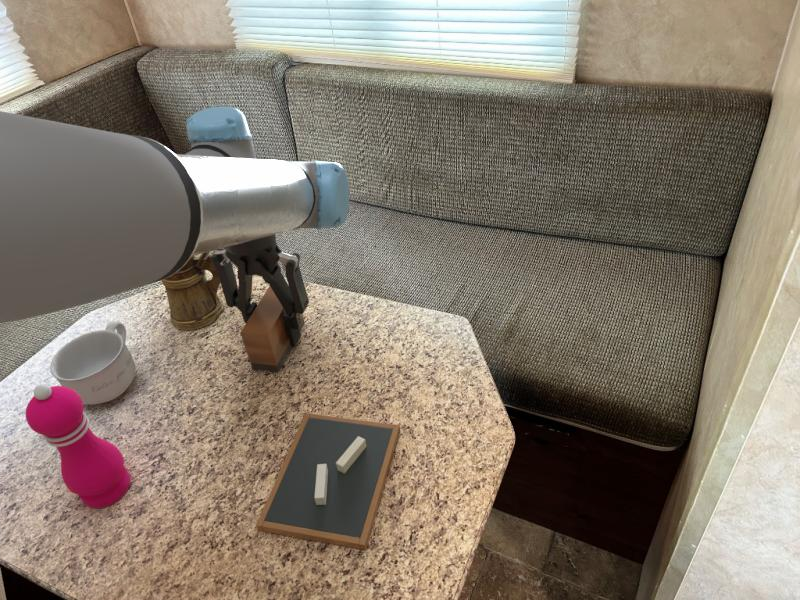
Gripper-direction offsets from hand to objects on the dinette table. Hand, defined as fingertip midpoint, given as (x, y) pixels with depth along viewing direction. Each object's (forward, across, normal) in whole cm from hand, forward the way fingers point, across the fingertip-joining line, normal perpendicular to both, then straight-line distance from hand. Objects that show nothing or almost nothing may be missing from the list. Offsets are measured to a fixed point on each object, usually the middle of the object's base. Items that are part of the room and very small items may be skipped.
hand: (277, 339), depth 100 cm
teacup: (+2, +24, +12) cm, 27 cm away
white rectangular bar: (0, -16, +26) cm, 30 cm away
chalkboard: (+1, -17, +23) cm, 29 cm away
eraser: (+1, 0, 0) cm, 1 cm away
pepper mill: (+2, +13, +30) cm, 33 cm away
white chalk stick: (0, -19, +20) cm, 28 cm away
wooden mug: (+2, +16, -6) cm, 17 cm away
